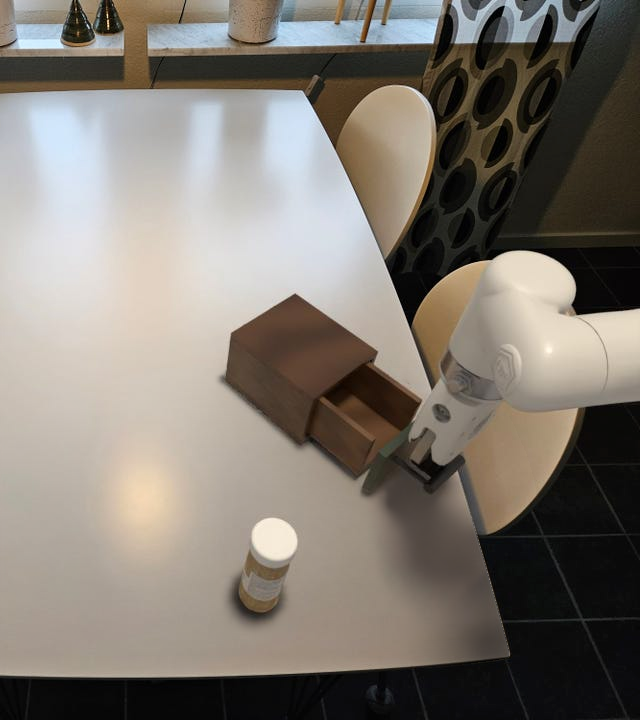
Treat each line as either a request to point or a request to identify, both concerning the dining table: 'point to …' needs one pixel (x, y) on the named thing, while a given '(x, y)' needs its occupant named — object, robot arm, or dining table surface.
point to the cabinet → (292, 361)
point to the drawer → (373, 427)
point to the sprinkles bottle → (267, 563)
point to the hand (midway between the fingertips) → (424, 466)
